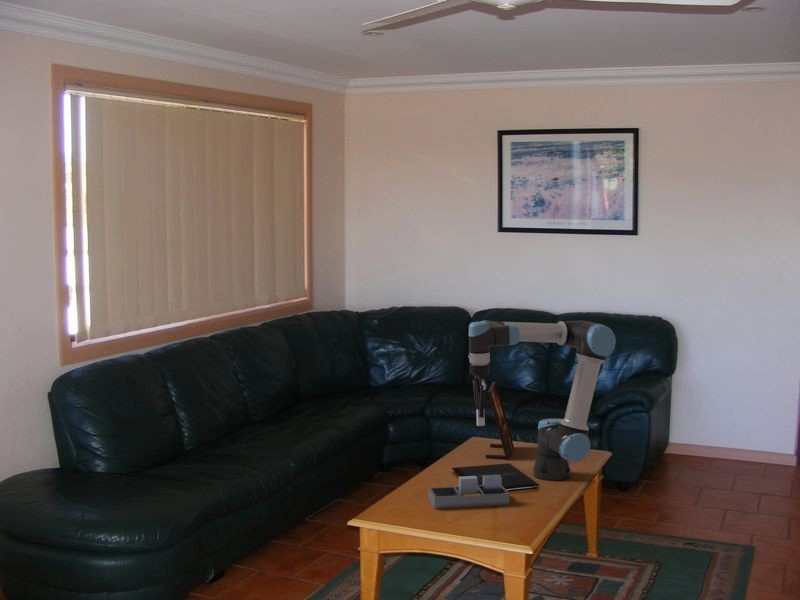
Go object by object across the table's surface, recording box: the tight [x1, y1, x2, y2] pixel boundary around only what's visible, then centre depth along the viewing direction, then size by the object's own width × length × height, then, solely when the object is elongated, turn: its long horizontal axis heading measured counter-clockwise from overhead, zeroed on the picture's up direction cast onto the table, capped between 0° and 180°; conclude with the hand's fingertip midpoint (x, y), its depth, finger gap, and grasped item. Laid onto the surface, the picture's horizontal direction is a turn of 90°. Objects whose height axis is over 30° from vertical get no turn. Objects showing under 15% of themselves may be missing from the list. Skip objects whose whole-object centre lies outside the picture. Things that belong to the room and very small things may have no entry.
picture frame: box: [485, 381, 515, 461], centre depth 399 cm, size 21×11×30 cm, turn 168°
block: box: [458, 475, 479, 495], centre depth 335 cm, size 6×3×8 cm, turn 100°
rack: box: [427, 474, 510, 510], centre depth 335 cm, size 28×11×9 cm, turn 99°
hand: (480, 425), depth 340 cm, fingers closed
